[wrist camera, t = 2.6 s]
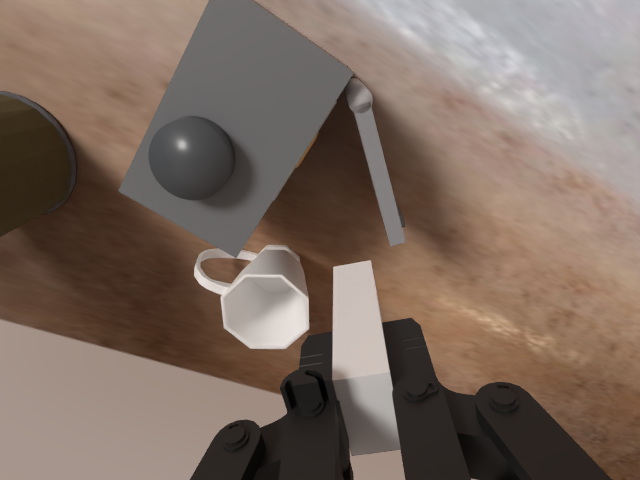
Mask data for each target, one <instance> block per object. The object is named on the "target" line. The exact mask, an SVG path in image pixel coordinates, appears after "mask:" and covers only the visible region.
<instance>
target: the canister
mask: <svg viewBox="0 0 640 480" xmlns="http://www.w3.org/2000/svg"><path fill="white" fill-rule="evenodd" d="M75 182H76V159H75V153H74V150H73V148H72V145H71V143H70V141H69V139H68V137H67V135H66V134H65V132H64V131H63V130H62V128H61V127H60V125H59V124H58V123H57V121H56V120H55V119H54V118H53V117H52V116H51V115H50V114H49V113H48V112H47V111H46V110H44V109H43V108H42V107H41V106H39V105H38V104H37V103H35V102H33V101H31V100H29V99H27V98H25V97H23V96H20V95H17V94H13V93H10V92H7V91H0V237H1V236H3V235H4V234H6V233H8V232H10V231H12V230H13V229H15V228H17V227H19V226H20V225H22V224H24V223H26V222H28V221H29V220H31V219H33V218H35V217H36V216H38V215H42V214H46V213H48V212H51V211H53V210H55V209H56V208H58V207H59V206H61V205H62V204H63V203H64V202H65V201H66V200H67V199H68V198H69V196H70V194H71V191H72V189H73V187H74V185H75Z"/></svg>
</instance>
